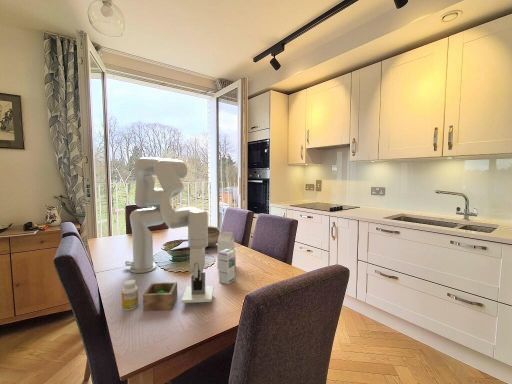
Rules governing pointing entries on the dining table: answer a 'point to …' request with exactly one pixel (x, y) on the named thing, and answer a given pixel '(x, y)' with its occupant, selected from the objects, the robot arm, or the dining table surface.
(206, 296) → the lid
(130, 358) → the dining table surface
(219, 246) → the milk carton
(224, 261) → the syrup box
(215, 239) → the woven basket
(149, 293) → the box
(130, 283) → the supplement bottle
